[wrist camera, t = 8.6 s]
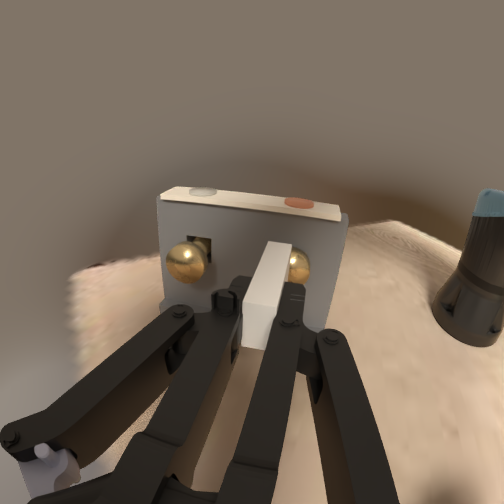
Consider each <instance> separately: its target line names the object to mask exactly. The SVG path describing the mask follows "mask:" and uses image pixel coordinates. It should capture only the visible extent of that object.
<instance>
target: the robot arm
mask: <svg viewBox="0 0 504 504" xmlns="http://www.w3.org/2000/svg"><path fill="white" fill-rule="evenodd" d="M472 215H473V217H472V221H471V225H470V229H469V232H468V235H467V239H466V242H465V245H464V249H463V252H462V255H461V258H460V260H459V263H458V266H457V268H456V270H455V271H454V273H453V274H452V275H451V277H450V278H449V279H448V280H447V282H446V283H445V284H444V285H443V287H442V288H441V289H440V290H439V292H438V293H437V295H436V297H435V300H434V302H433V305H432V310H433V314H434V316H435V318H436V320H437V321H438V323H439V324H440V325H441V326H442V328H443V329H444V330H446V331H447V332H448V333H449V334H450V335H452V336H453V337H455V338H456V339H458V340H460V341H462V342H464V343H466V344H469V345H472V346H476V347H488V346H491V345H493V344H494V343H495V342H496V341H497V339H498V337H499V336H500V334H501V332H502V330H503V327H504V191H500V190H495V189H489V188H487V189H484V190H482V191H481V192H480V194H479V197H478V200H477V203H476V206H475V210H474V212H473V213H472ZM291 250H292V244H286V243H279V242H272V241H268V243H267V246H266V248H265V250H264V253H263V255H262V257H261V260H260V262H259V264H258V267H257V269H256V271H255V274H254V276H253V277H248V276H241V275H239V276H237V277H236V278H234V279H233V280H232V282H231V284H230V286H229V288H228V289H218V290H216V291H214V292H213V293H212V294H211V305H212V309H211V311H210V312H205V313H194V310H193V309H192V307H190V306H188V305H185V304H177V305H173V306H171V307H169V308H168V309H167V310H165V311H164V312H163V313H162V314H160V315H159V316H158V317H157V318H156V319H154V320H153V321H152V322H151V323H149V324H148V325H147V326H146V327H144V328H143V329H142V330H141V331H140V332H138V333H137V334H136V335H135V336H133V337H132V338H131V339H130V340H129V341H127V342H126V343H125V344H124V345H122V346H121V347H120V348H119V349H118V350H116V351H115V352H114V353H113V354H112V355H110V356H109V357H108V358H107V359H105V360H104V361H103V362H102V363H101V364H99V365H98V366H97V367H96V368H95V369H93V370H92V371H91V372H90V373H89V374H87V375H86V376H85V377H84V378H83V379H81V380H80V381H79V382H78V383H76V384H75V385H74V386H73V387H72V388H71V389H69V390H68V391H67V392H66V393H64V394H63V395H62V396H61V397H60V398H58V400H56V401H55V402H54V403H53V404H51V405H50V406H49V407H48V408H47V409H45V410H43V411H41V412H38V413H36V414H33V415H30V416H28V417H25V418H22V419H20V420H17V421H14V422H11V423H8V424H7V425H5V426H4V427H3V428H2V430H1V432H0V443H1V446H2V447H3V448H4V449H5V450H6V451H7V452H8V453H9V454H10V455H11V456H13V457H14V458H15V459H16V460H17V461H18V463H19V466H20V469H21V472H22V475H23V478H24V481H25V483H26V486H27V488H28V491H29V493H30V496H31V498H32V500H30V501H29V502H28V503H27V504H271V502H272V497H273V493H274V489H275V485H276V480H277V476H278V467H279V462H280V457H281V452H282V447H283V442H284V437H285V432H286V427H287V422H288V416H289V411H290V405H291V399H292V393H293V387H294V381H295V375H296V371H297V372H299V373H302V374H304V375H306V380H307V386H308V391H309V396H310V401H311V407H312V412H313V418H314V423H315V429H316V434H317V440H318V446H319V452H320V458H321V464H322V470H323V476H324V482H325V488H326V495H327V501H328V504H400V503H399V500H398V496H397V492H396V488H395V485H394V481H393V477H392V474H391V470H390V467H389V463H388V460H387V456H386V453H385V450H384V446H383V443H382V440H381V437H380V433H379V430H378V427H377V424H376V421H375V418H374V415H373V412H372V409H371V406H370V403H369V400H368V397H367V394H366V391H365V388H364V386H363V383H362V380H361V377H360V374H359V372H358V369H357V366H356V363H355V361H354V358H353V355H352V353H351V350H350V347H349V345H348V342H347V339H346V337H345V336H344V334H342V333H341V332H340V331H337V330H335V329H323V330H321V331H320V332H319V333H317V332H314V331H312V330H310V329H309V328H307V327H306V326H305V325H304V323H303V312H304V304H305V295H306V289H305V287H304V285H303V284H298V283H291V282H288V274H289V266H290V258H291ZM240 342H241V346H244V347H249V348H254V349H260V350H265V352H264V356H263V359H262V363H261V367H260V370H259V374H258V377H257V381H256V384H255V388H254V391H253V394H252V398H251V401H250V405H249V408H248V411H247V415H246V418H245V421H244V424H243V428H242V431H241V434H240V437H239V440H238V444H237V447H236V450H235V453H234V456H233V459H232V460H231V462H230V463H229V465H228V468H227V470H226V473H225V476H224V479H223V482H222V485H221V488H220V491H219V493H216V492H200V491H194V490H192V489H190V488H191V485H192V481H193V474H194V470H195V467H196V464H197V462H198V459H199V457H200V454H201V452H202V449H203V447H204V444H205V441H206V439H207V436H208V434H209V431H210V429H211V426H212V423H213V421H214V418H215V415H216V413H217V410H218V408H219V405H220V402H221V400H222V397H223V394H224V392H225V389H226V386H227V384H228V381H229V378H230V376H231V373H232V370H233V367H234V365H235V362H236V359H237V356H238V354H239V344H240ZM168 386H169V387H168ZM167 387H168V389H167V391H166V393H165V394H164V396H163V398H162V400H161V402H160V404H159V405H158V407H157V409H156V411H155V413H154V415H153V416H152V418H151V420H150V422H149V424H148V426H147V427H146V429H145V430H144V431H143V432H137V433H136V434H135V435H134V436H133V437H132V439H131V440H130V442H129V444H128V446H127V447H126V449H125V451H124V453H123V455H122V456H121V458H120V460H119V462H118V464H117V465H116V467H115V469H114V471H113V472H110V473H108V474H105V475H103V476H100V477H98V478H95V479H92V480H89V481H87V482H84V483H81V484H78V485H75V486H72V487H70V485H72V484H73V483H78V482H79V481H80V479H81V476H80V469H82V468H84V467H86V466H87V465H89V464H90V463H92V462H93V461H95V460H96V459H97V458H98V457H99V456H100V455H102V454H103V453H104V452H105V451H106V450H107V449H108V448H109V447H110V446H111V445H112V444H113V443H114V442H115V441H116V440H117V439H118V438H119V437H120V436H121V435H122V434H123V433H124V432H125V431H126V430H127V429H128V428H129V427H130V426H131V425H132V424H133V423H134V422H135V421H136V420H137V419H138V418H139V416H140V415H141V414H142V413H143V412H144V411H145V410H146V409H147V408H148V407H149V406H150V405H151V404H152V403H153V402H154V401H155V400H156V399H157V398H158V397H159V396H160V395H161V394H162V393H163V392H164V391H165V389H166V388H167Z"/></svg>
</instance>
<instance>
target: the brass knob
mask: <svg viewBox="0 0 504 504" xmlns="http://www.w3.org/2000/svg"><path fill="white" fill-rule="evenodd" d="M309 275H310V260H309V258H308V256H307V253H305V252H303V251H302V250H301V249H299V248H296V247H292V250H291V258H290V266H289V274H288V282H291V283H298V284H303V285H304V284H305V283H306V282H307V280H308V278H309Z"/></svg>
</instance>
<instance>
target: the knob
mask: <svg viewBox="0 0 504 504" xmlns="http://www.w3.org/2000/svg"><path fill="white" fill-rule="evenodd" d="M208 253H211V239H210V238H203V237H196V236H195V240H194V241H193V242H190V241H183V242H180V243H178V244H177V245H176V246H175V247H173V248H172V249H171V250H170V251H169V252H168V254H167V256H166V266H167V269H168V271H169V273H170V274H171V275H172V276H173V277H174V278H175V279H176V280H178V281H180V282H182V283H186V284H191V283H195V282H197V281H198V280H199V279H200V278H201V276H202V275H203V274H204V272H205V271H206V269H207V267H208V259H207V255H208Z"/></svg>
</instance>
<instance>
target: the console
mask: <svg viewBox="0 0 504 504" xmlns="http://www.w3.org/2000/svg"><path fill="white" fill-rule="evenodd" d="M157 216H158V232H159V244H160V257H161V267H162V277H163V286H164V295H165V299H164V300H163V301H162V302H161V303H160V305H159V307H160V313H161V314H162V313H163V312H164V311H165V310H167V309H168V308H169V307H171V306H173V305H177V304H185V305H188V306H190V307H192V309H193V310H194V313H205V312H210V311H211V309H212V305H211V294H212V293H213V292H214V291H216V290H218V289H228V288H229V286H230V284H231V282H232V280H233V279H234V278H236V277H237V276H239V275H241V276H248V277H253V276H254V274H255V271H256V269H257V267H258V264H259V262H260V260H261V257H262V255H263V253H264V250H265V248H266V246H267V243H268V241H272V242H279V243H286V244H292V247H296V248H299V249H301V250H302V251H303V252H305V253H307V256H308V258H309V260H310V275H309V278H308V280H307V282H306V283H305V284H304V287H305V289H306V295H305V304H304V312H303V323H304V325H305V326H306V327H307V328H309V329H310V330H312V331H314V332H317V333H319V332H320V331H321V330H323V329H324V327H325V324H326V320H327V316H328V312H329V309H330V305H331V301H332V297H333V293H334V289H335V285H336V280H337V276H338V272H339V268H340V263H341V258H342V254H343V249H344V244H345V239H346V234H347V229H348V224H349V219H348V216H347V214H346V213H341V212H340V208H339V206H338V205H332V204H326V203H320V202H312V201H310V200H307V199H303V198H284V197H276V196H268V195H260V194H251V193H242V192H232V191H223V190H216V189H214V188H206V187H199V188H189V187H174V188H172V189H170V190H168V191H166V192H164V193H162V194H161V195H159V196H158V197H157ZM195 236H196V237H203V238H210V239H211V253H208V255H207V259H208V267H207V269H206V271H205V272H204V274H203V275H202V276H201V278H200V279H199V280H198V281H197V282H195V283H191V284H186V283H182V282H180V281H178V280H176V279H175V278H174V277H173V276H172V275H171V274H170V273H169V271H168V269H167V266H166V256H167V254H168V252H169V251H170V250H171V249H172V248H173V247H175V246H176V245H177V244H178V243H180V242H183V241H190V242H193V241H194V240H195Z"/></svg>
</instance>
